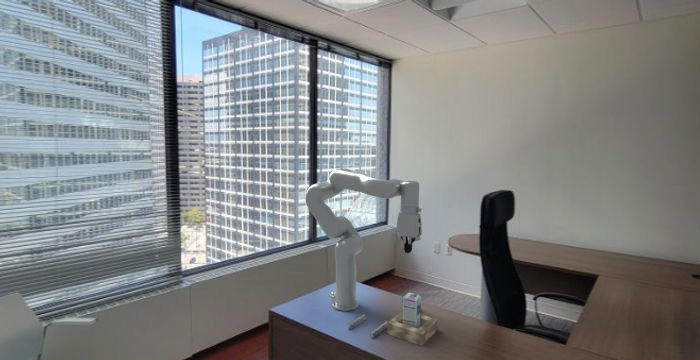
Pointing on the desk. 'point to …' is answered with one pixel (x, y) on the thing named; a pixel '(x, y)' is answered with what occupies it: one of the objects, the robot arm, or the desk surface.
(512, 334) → the desk surface
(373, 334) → the stand rails
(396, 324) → the beige square tray
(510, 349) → the desk surface
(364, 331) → the desk surface
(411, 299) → the syrup box
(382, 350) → the desk surface
